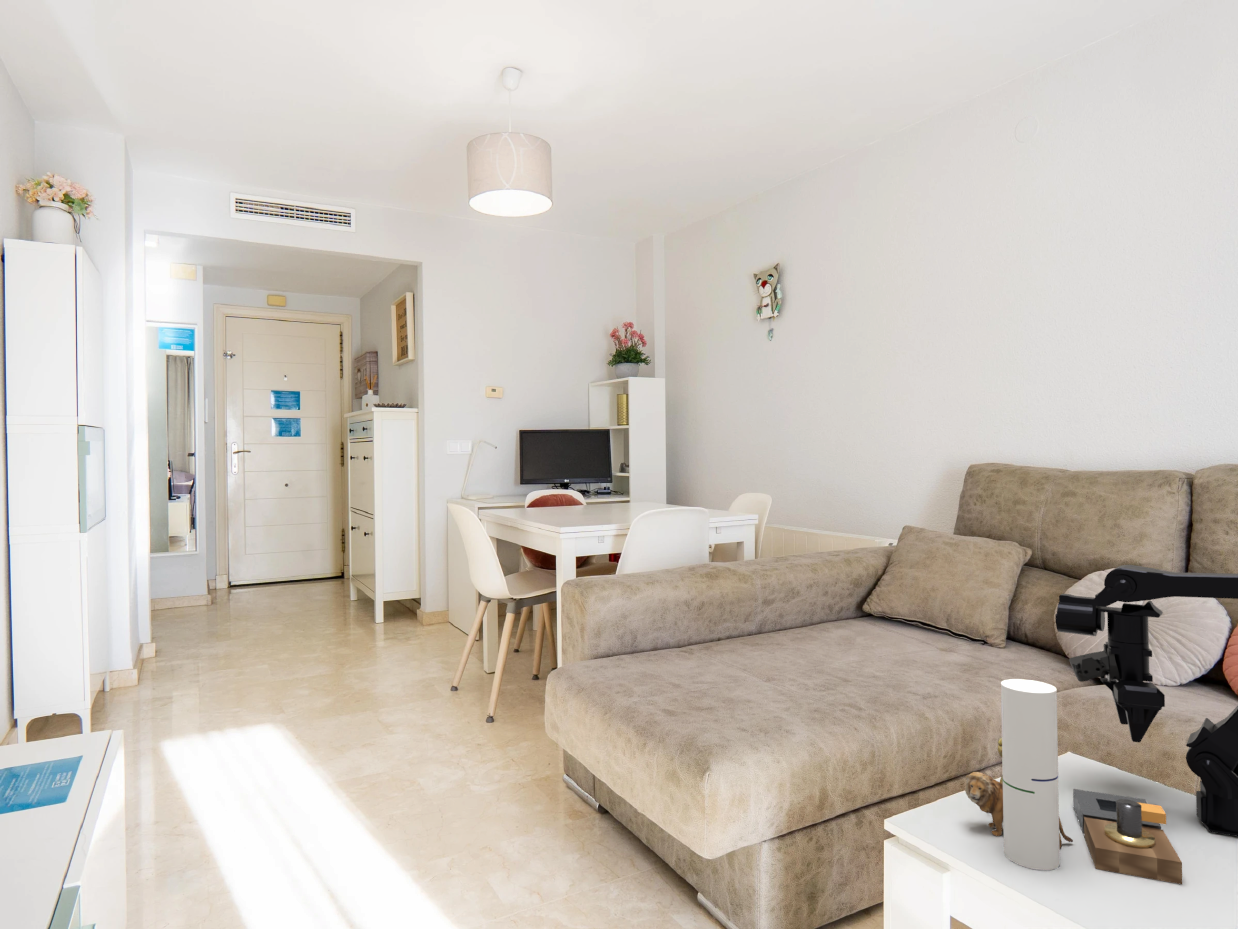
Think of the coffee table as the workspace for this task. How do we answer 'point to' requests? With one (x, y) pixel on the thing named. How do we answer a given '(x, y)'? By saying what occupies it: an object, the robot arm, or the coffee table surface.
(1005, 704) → the cylindrical container
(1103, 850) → the rack block
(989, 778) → the lion figurine
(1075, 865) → the coffee table surface
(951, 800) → the coffee table surface
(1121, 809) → the dark flanged cylinder
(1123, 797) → the socket block
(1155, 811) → the cardboard box
